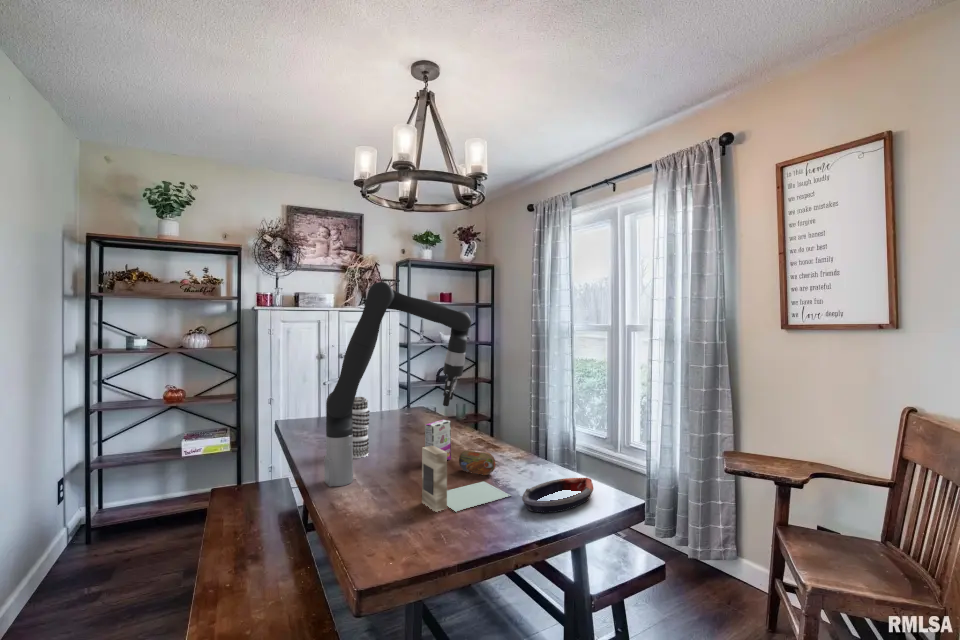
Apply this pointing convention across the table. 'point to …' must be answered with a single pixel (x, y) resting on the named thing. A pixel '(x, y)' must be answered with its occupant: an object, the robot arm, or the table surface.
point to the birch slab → (434, 478)
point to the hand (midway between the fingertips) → (447, 402)
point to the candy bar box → (439, 436)
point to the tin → (477, 462)
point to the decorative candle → (360, 427)
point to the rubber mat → (473, 495)
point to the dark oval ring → (555, 486)
